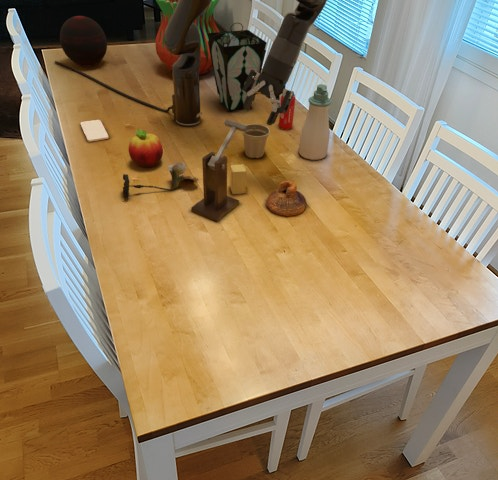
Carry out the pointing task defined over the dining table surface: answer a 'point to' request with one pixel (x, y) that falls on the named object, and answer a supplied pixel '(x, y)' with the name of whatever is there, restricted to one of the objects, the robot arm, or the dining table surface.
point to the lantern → (235, 64)
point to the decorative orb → (83, 41)
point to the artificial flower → (175, 172)
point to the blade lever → (226, 140)
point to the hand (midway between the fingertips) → (257, 117)
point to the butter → (238, 179)
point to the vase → (203, 24)
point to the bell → (286, 200)
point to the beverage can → (287, 115)
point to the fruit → (145, 149)
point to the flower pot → (255, 140)
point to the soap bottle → (316, 126)
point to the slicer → (215, 191)
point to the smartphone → (94, 130)
